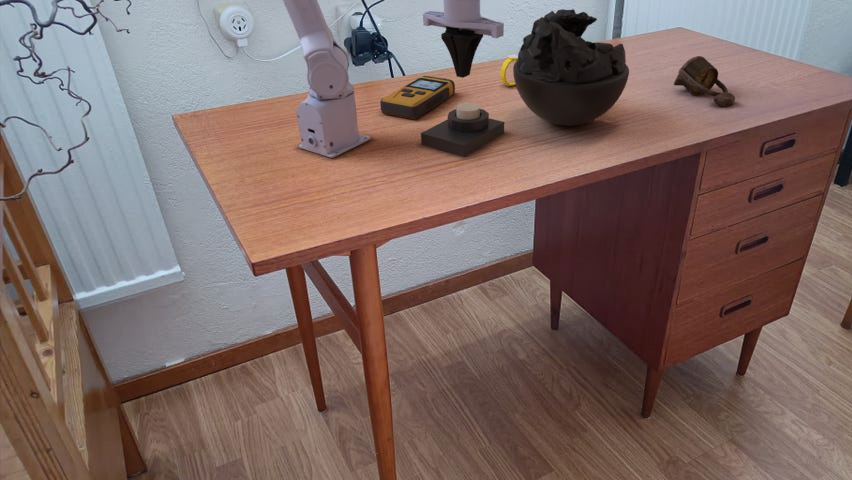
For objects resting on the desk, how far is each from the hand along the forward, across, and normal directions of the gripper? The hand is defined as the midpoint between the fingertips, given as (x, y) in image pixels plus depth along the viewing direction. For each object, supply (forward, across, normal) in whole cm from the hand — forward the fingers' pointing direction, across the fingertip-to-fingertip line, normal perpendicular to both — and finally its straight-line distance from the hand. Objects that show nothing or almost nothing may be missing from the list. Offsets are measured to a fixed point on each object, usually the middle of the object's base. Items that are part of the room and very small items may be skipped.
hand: (463, 75), depth 109 cm
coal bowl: (+10, -12, -15) cm, 22 cm away
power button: (+7, -1, 0) cm, 7 cm away
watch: (+10, +7, -27) cm, 30 cm away
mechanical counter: (+11, -28, -42) cm, 51 cm away
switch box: (+10, -1, +2) cm, 11 cm away
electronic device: (+11, +16, -7) cm, 20 cm away
